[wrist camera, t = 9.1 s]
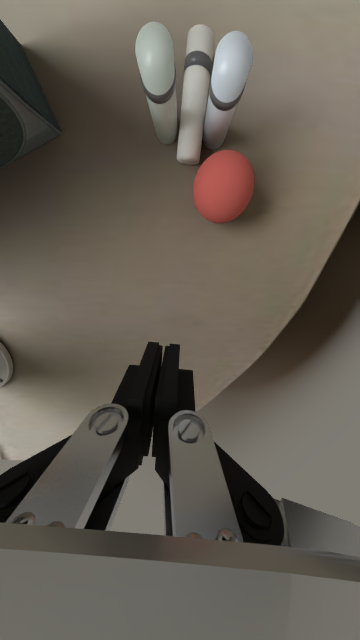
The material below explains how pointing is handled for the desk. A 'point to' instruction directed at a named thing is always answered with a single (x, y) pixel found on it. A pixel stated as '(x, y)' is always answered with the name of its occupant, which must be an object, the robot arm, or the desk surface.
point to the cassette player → (21, 104)
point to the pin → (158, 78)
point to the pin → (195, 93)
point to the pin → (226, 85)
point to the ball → (223, 186)
